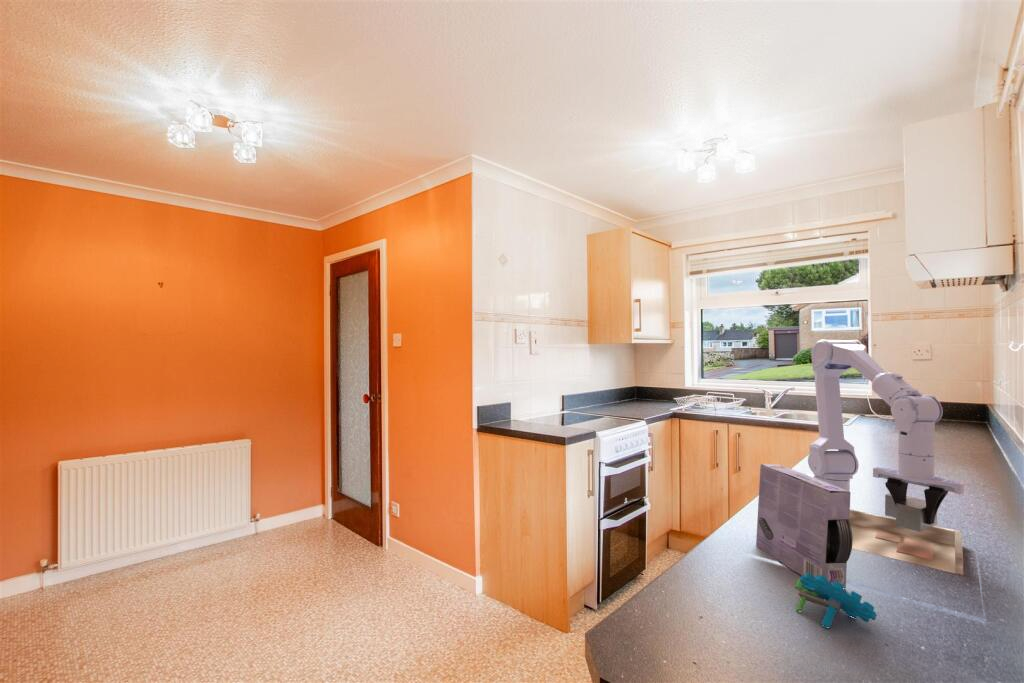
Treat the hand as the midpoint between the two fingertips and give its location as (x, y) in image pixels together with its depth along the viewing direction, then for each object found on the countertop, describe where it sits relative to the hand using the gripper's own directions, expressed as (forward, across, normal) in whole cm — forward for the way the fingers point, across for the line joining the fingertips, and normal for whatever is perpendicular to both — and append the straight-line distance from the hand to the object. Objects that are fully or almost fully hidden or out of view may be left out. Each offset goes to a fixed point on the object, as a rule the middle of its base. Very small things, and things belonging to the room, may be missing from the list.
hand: (915, 519), depth 100 cm
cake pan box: (+7, +9, +28) cm, 30 cm away
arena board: (+7, +4, +1) cm, 8 cm away
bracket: (+1, +2, 0) cm, 2 cm away
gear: (+7, -3, +42) cm, 43 cm away
